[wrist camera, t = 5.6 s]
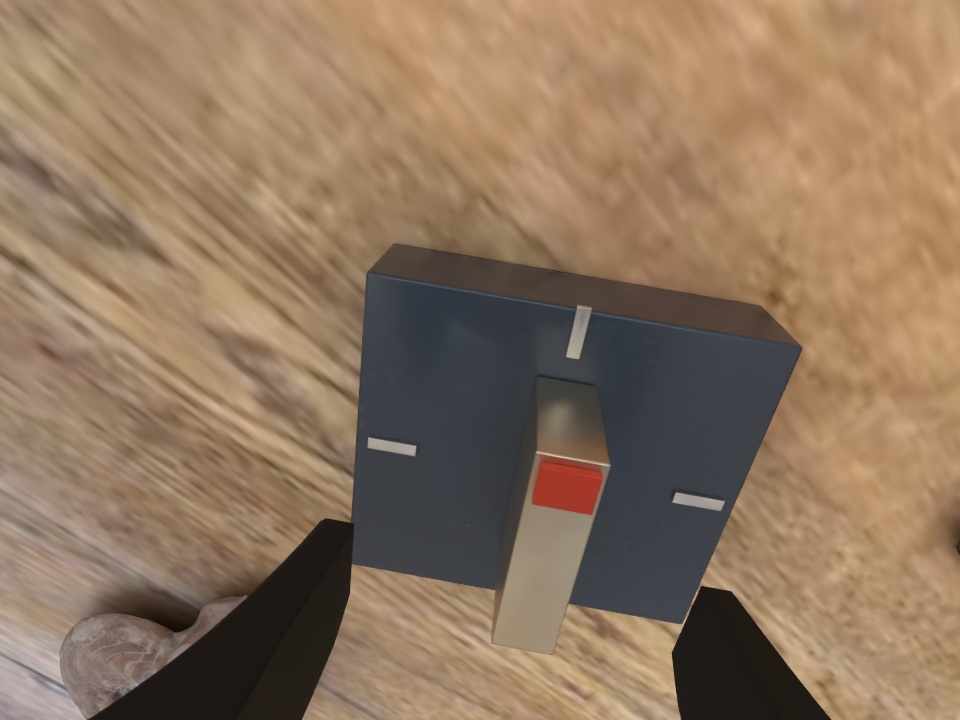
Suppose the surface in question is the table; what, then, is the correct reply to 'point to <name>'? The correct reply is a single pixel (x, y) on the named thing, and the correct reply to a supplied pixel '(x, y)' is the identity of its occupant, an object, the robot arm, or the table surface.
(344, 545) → the robot arm
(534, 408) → the silver block
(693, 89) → the table surface
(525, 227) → the table surface
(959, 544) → the rock
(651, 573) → the panel
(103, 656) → the fossil
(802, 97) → the table surface
